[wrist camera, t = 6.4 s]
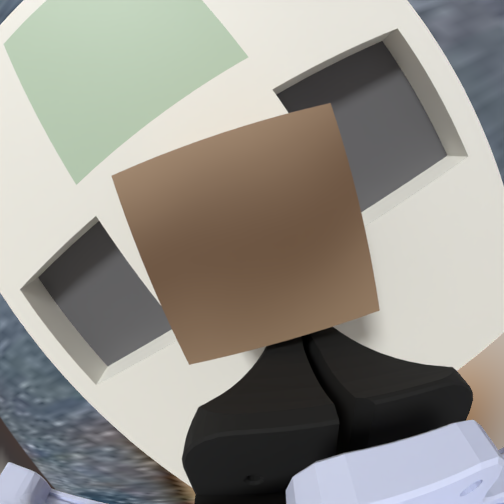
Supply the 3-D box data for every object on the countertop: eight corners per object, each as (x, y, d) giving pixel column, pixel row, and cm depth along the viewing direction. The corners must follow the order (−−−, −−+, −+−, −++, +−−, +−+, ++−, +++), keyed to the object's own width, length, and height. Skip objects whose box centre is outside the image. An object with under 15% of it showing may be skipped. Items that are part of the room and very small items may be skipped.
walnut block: (335, 257, 12) (379, 310, 7) (208, 295, 12) (189, 364, 8) (299, 125, 10) (330, 102, 6) (163, 169, 11) (111, 176, 6)
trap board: (508, 296, 15) (528, 309, 13) (200, 469, 18) (197, 491, 16) (259, -109, 8) (259, -129, 6) (-51, 129, 11) (-72, 130, 10)
